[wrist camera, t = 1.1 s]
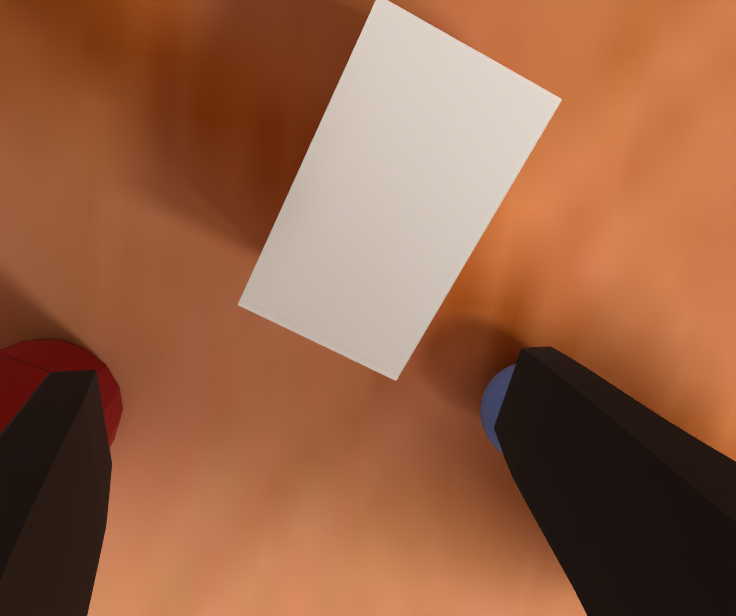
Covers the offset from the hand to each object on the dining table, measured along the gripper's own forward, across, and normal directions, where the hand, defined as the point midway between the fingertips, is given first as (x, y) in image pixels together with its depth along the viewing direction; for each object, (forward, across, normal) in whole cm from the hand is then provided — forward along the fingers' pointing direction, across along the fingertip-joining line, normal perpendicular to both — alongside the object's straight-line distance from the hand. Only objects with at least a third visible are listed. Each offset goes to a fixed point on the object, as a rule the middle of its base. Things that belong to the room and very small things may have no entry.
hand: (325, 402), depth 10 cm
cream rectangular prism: (+12, -5, +1) cm, 13 cm away
